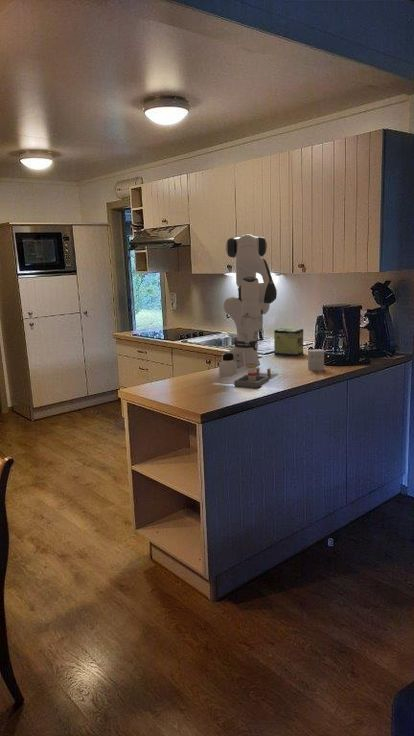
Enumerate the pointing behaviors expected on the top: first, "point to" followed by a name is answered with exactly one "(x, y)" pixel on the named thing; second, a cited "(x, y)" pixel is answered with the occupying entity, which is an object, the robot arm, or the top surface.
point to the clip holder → (266, 373)
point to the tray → (244, 382)
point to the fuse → (251, 372)
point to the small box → (316, 359)
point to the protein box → (288, 342)
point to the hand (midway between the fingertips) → (251, 341)
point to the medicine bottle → (227, 365)
